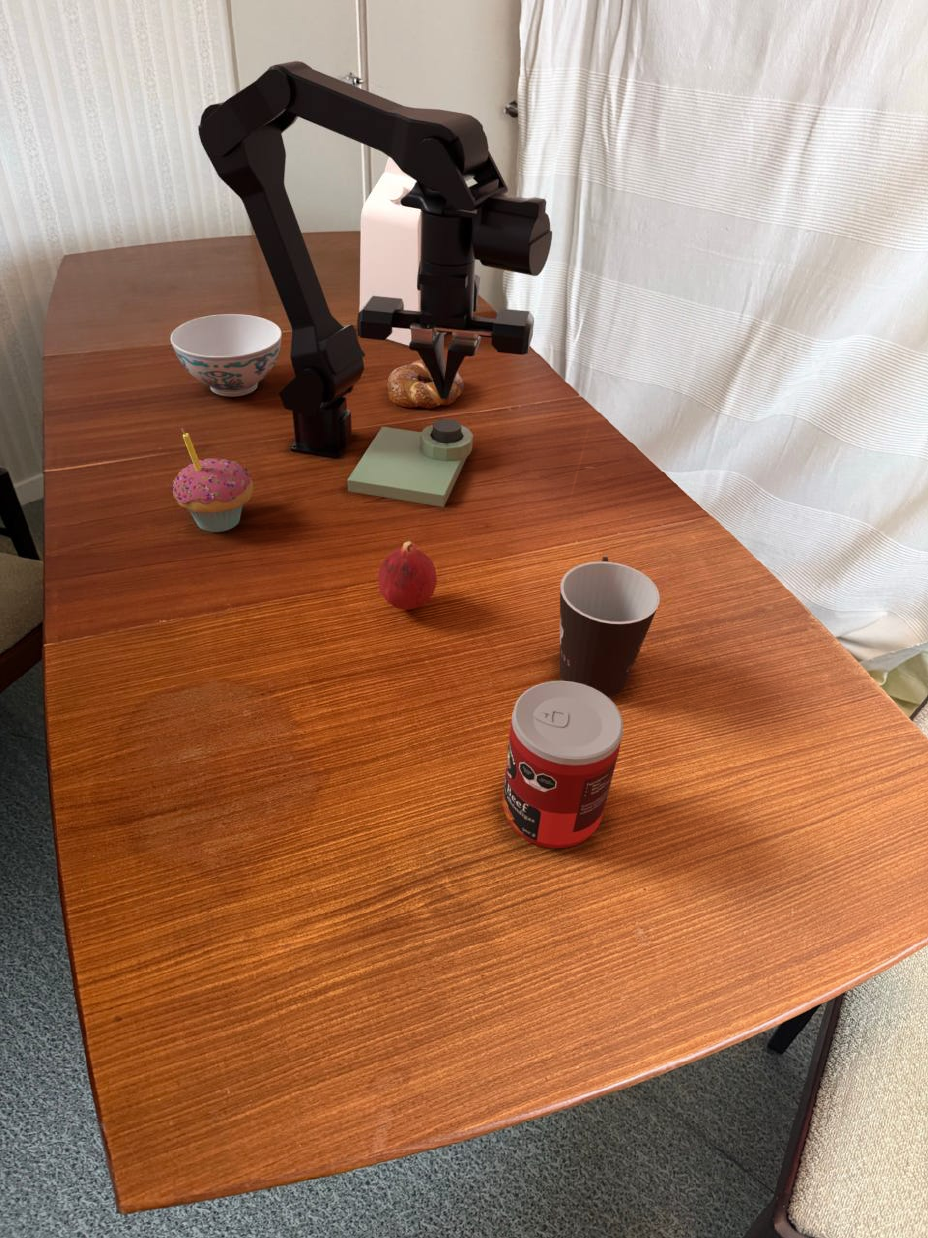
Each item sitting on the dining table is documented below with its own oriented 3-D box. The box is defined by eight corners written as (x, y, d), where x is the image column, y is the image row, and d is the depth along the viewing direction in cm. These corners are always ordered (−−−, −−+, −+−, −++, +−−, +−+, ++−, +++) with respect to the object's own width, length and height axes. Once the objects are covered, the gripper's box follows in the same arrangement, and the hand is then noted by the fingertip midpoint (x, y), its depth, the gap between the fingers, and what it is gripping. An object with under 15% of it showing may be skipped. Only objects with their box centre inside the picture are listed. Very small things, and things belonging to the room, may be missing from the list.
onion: (428, 630, 82) (429, 566, 77) (372, 621, 83) (369, 556, 78) (441, 594, 86) (443, 531, 81) (387, 586, 87) (386, 522, 82)
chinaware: (158, 396, 117) (147, 343, 112) (220, 357, 128) (212, 306, 123) (249, 419, 113) (242, 365, 108) (305, 376, 124) (301, 325, 119)
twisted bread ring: (415, 420, 115) (416, 395, 112) (369, 392, 121) (368, 367, 119) (480, 397, 121) (481, 373, 119) (432, 371, 127) (432, 347, 125)
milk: (457, 326, 141) (463, 155, 124) (418, 348, 133) (419, 169, 116) (399, 310, 145) (398, 142, 128) (359, 330, 138) (352, 155, 121)
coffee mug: (616, 720, 74) (636, 637, 67) (531, 682, 77) (542, 599, 71) (664, 647, 82) (686, 566, 75) (585, 615, 85) (600, 534, 78)
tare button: (429, 442, 104) (429, 429, 103) (436, 429, 107) (436, 416, 106) (457, 446, 104) (457, 433, 103) (463, 433, 106) (464, 420, 105)
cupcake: (190, 549, 90) (169, 451, 83) (172, 509, 96) (151, 414, 88) (266, 530, 94) (253, 434, 86) (245, 493, 99) (231, 400, 91)
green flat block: (347, 491, 101) (346, 466, 98) (383, 436, 111) (382, 412, 109) (449, 508, 99) (450, 483, 96) (475, 451, 109) (477, 426, 107)
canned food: (496, 774, 69) (506, 680, 62) (590, 770, 70) (611, 677, 62) (507, 854, 63) (520, 761, 56) (610, 849, 64) (635, 757, 57)
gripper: (544, 242, 91) (532, 376, 101) (379, 227, 93) (383, 360, 103) (534, 275, 83) (521, 418, 93) (352, 258, 85) (359, 400, 95)
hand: (444, 397), depth 96 cm, fingers closed
